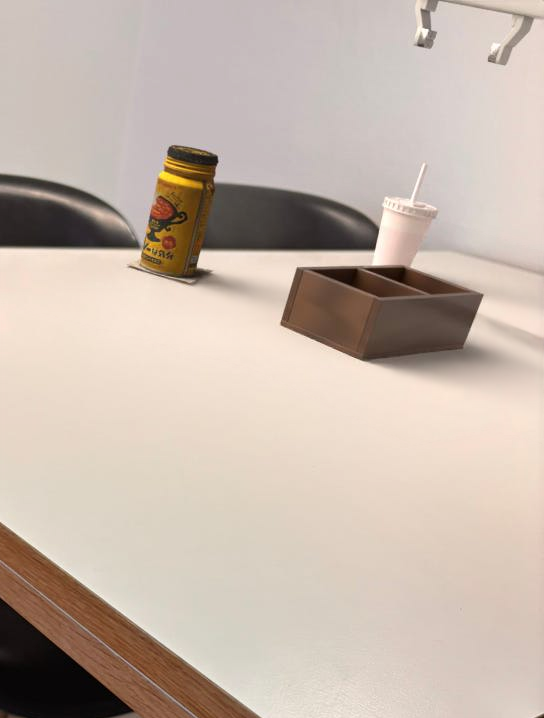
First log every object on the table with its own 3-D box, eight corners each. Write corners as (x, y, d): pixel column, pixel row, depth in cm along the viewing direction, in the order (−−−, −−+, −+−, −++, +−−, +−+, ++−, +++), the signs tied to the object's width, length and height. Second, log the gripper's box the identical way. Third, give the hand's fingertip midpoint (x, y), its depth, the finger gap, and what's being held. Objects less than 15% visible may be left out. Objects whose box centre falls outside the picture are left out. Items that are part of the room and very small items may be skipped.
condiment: (125, 266, 112) (151, 143, 106) (152, 255, 119) (178, 139, 113) (189, 285, 110) (220, 161, 104) (213, 273, 117) (243, 156, 111)
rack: (463, 347, 110) (484, 294, 107) (361, 360, 98) (382, 300, 95) (384, 316, 115) (402, 264, 112) (279, 324, 103) (296, 266, 100)
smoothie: (357, 285, 127) (398, 159, 119) (357, 275, 132) (396, 154, 125) (410, 298, 126) (455, 172, 119) (408, 287, 131) (451, 166, 124)
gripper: (617, -78, 106) (558, 77, 113) (441, -100, 117) (397, 42, 125) (590, -91, 102) (530, 71, 109) (410, -112, 113) (367, 35, 120)
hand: (458, 55), depth 117 cm, fingers open, 8 cm apart
